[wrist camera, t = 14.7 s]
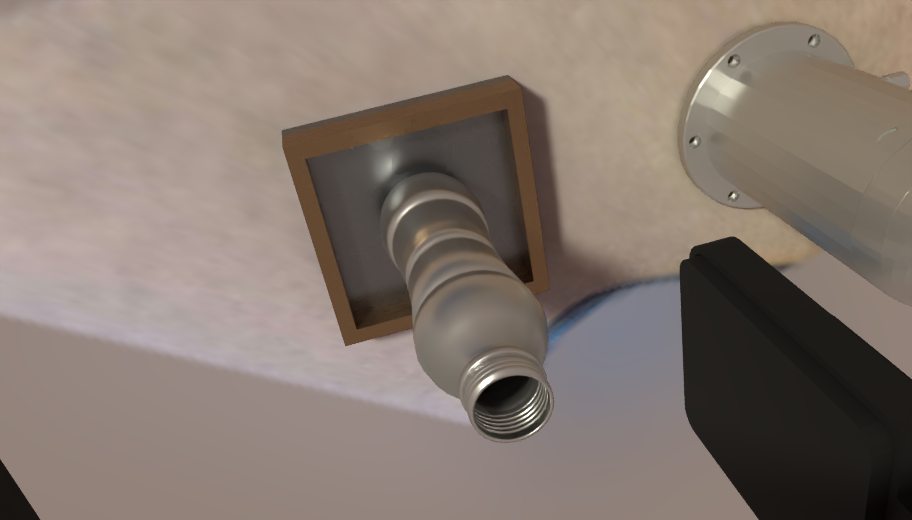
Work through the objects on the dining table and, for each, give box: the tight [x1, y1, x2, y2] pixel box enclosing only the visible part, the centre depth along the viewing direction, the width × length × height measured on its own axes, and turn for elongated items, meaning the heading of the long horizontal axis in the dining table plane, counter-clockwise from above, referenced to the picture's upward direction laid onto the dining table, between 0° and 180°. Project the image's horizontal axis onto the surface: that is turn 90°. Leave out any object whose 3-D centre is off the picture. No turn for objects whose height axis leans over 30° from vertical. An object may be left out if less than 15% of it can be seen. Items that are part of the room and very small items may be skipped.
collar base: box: [282, 75, 550, 346], centre depth 47 cm, size 14×14×4 cm
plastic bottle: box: [380, 172, 554, 443], centre depth 40 cm, size 6×7×20 cm
